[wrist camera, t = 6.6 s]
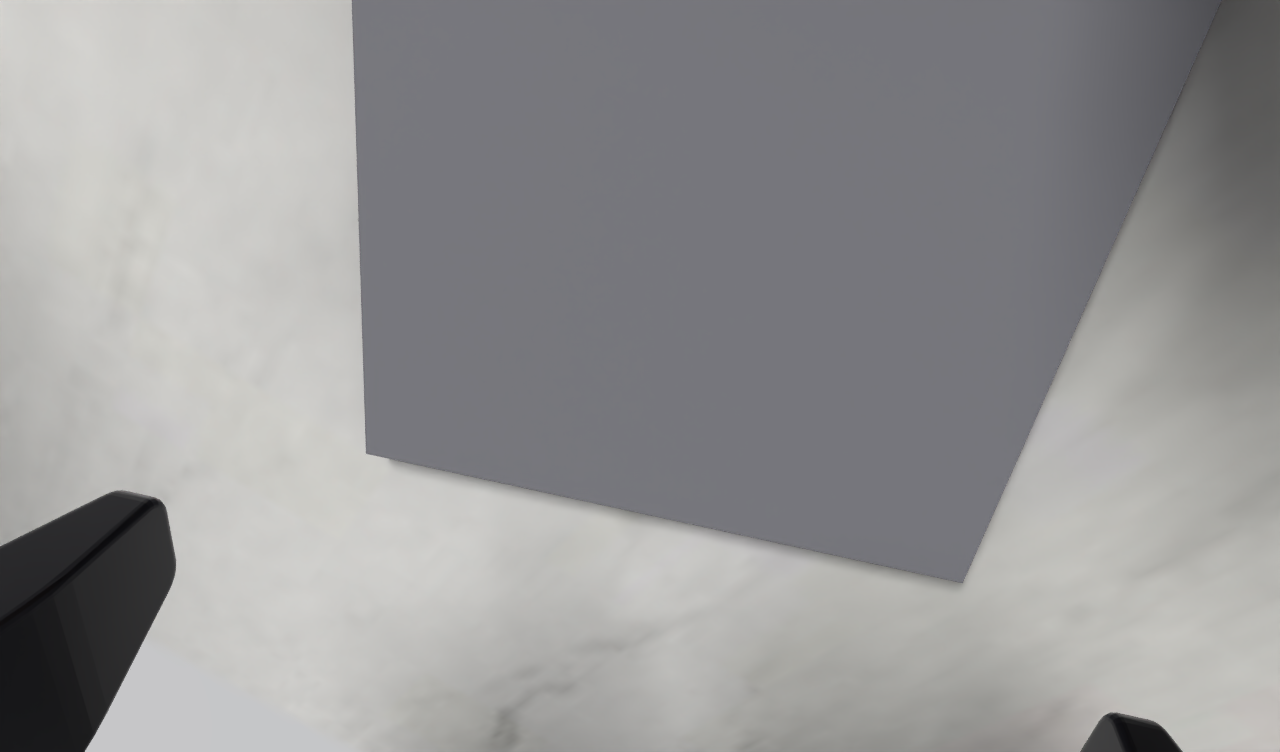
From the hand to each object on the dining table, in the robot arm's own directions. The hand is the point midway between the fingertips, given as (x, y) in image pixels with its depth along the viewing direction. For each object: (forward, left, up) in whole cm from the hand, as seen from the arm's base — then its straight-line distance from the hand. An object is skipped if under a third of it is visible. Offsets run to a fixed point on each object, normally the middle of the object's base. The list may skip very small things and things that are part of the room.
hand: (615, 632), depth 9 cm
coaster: (0, 0, -8) cm, 8 cm away
